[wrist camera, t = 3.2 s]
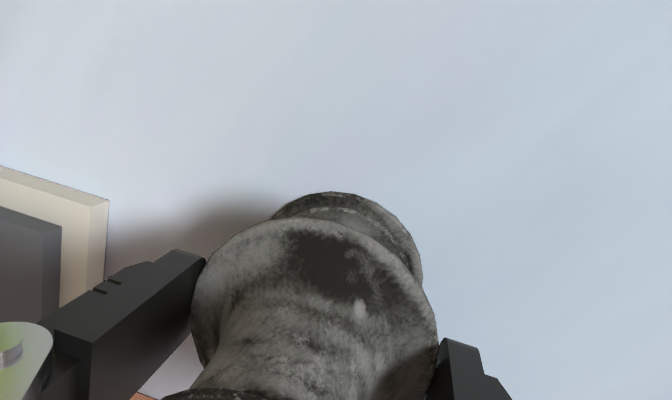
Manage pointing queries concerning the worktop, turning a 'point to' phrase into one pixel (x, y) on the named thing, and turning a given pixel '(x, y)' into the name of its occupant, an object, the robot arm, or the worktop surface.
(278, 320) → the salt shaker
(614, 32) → the worktop surface
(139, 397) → the marked box
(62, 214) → the ink pad
